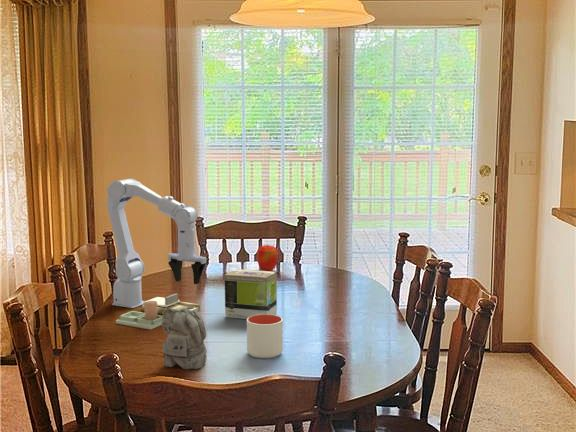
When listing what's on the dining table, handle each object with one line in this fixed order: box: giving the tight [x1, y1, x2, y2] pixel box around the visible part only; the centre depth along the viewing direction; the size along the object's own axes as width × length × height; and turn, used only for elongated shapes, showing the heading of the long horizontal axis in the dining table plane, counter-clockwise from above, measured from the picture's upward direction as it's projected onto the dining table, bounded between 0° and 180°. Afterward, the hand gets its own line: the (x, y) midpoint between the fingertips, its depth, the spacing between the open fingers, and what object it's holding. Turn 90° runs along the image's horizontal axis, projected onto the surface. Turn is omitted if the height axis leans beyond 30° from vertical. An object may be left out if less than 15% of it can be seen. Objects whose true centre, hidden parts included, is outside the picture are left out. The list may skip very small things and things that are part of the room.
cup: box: [246, 314, 284, 359], centre depth 192 cm, size 10×10×10 cm
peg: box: [143, 300, 159, 321], centre depth 220 cm, size 4×4×6 cm
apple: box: [256, 244, 279, 271], centre depth 294 cm, size 9×9×12 cm
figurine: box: [161, 308, 208, 370], centre depth 184 cm, size 10×11×15 cm
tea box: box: [224, 268, 278, 320], centre depth 228 cm, size 15×10×15 cm
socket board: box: [115, 310, 163, 331], centre depth 221 cm, size 14×9×2 cm, turn 63°
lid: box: [143, 293, 181, 308], centre depth 237 cm, size 10×8×3 cm
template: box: [141, 301, 201, 315], centre depth 236 cm, size 17×10×2 cm, turn 63°
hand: (187, 282), depth 234 cm, fingers open, 7 cm apart
